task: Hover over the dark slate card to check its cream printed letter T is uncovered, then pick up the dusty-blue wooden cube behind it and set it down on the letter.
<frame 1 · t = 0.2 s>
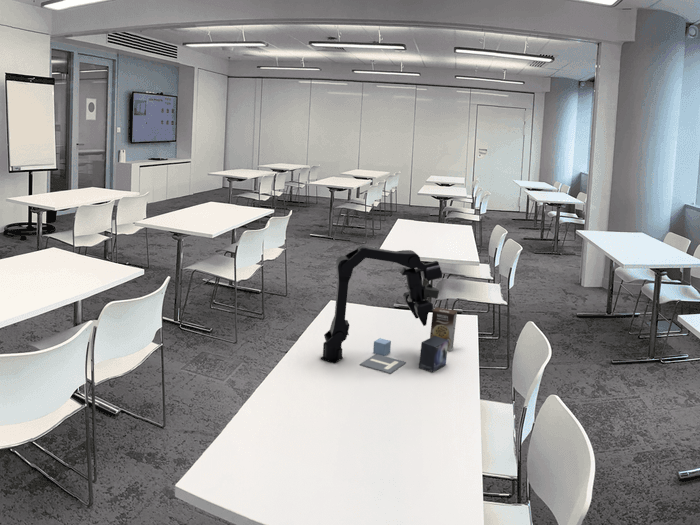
hand: (420, 321, 224), 15 cm above the table, tool pointing down, fingers open, 9 cm apart
blue cube: (381, 353, 232), on the table
small box: (432, 367, 221), on the table
coffee box: (441, 347, 241), on the table
letter card: (383, 364, 220), on the table
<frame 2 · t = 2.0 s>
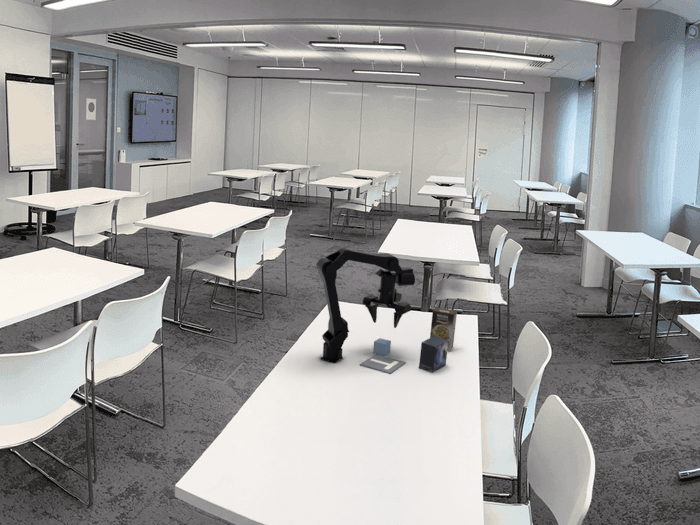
hand: (384, 325, 228), 12 cm above the table, tool pointing down, fingers open, 9 cm apart
nothing on the table moved.
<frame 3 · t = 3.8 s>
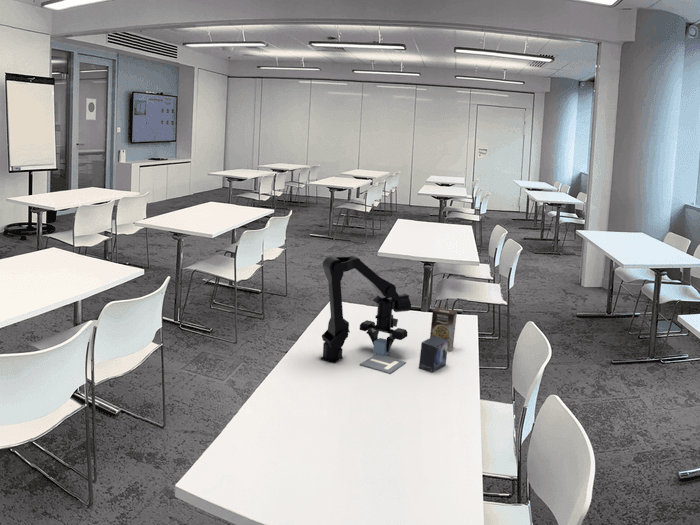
hand: (381, 350, 232), 1 cm above the table, tool pointing down, fingers closed on blue cube, 5 cm apart
blue cube: (381, 352, 232), on the table, touching gripper
everything else where it was.
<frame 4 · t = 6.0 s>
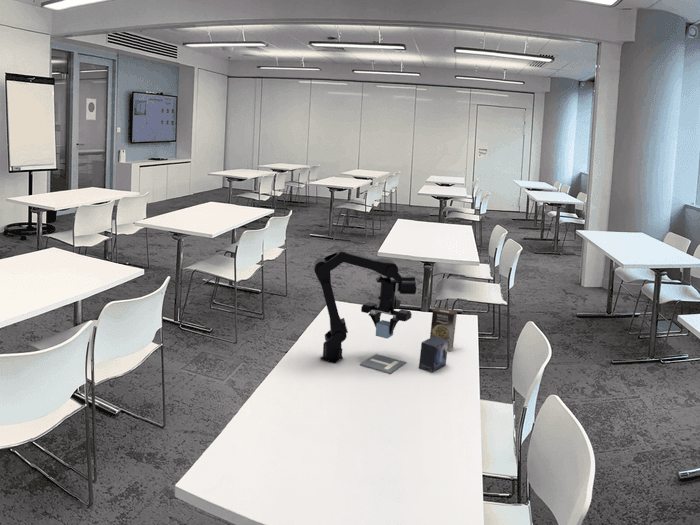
hand: (384, 332, 222), 11 cm above the table, tool pointing down, fingers closed on blue cube, 5 cm apart
blue cube: (384, 335, 223), point 10 cm above the table, touching gripper
everything else where it was.
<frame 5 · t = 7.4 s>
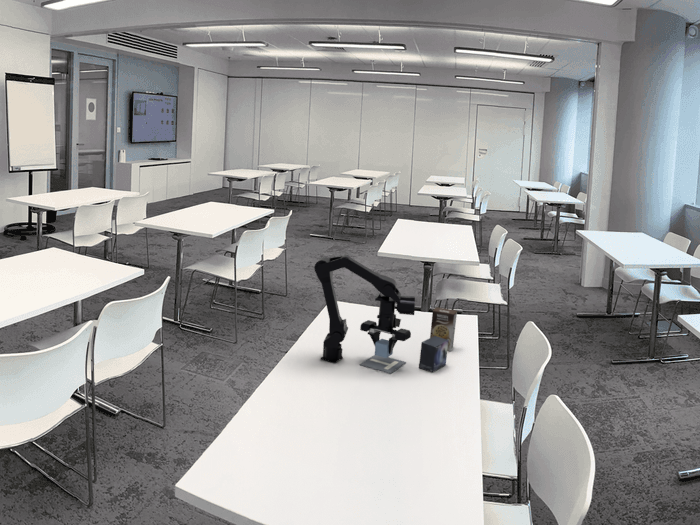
hand: (383, 351, 219), 5 cm above the table, tool pointing down, fingers closed on blue cube, 5 cm apart
blue cube: (383, 354, 220), point 4 cm above the table, touching gripper
everything else where it was.
when the fingers open (2 cm above the table, at t = 8.3 s): blue cube stays where it is, resting on letter card.
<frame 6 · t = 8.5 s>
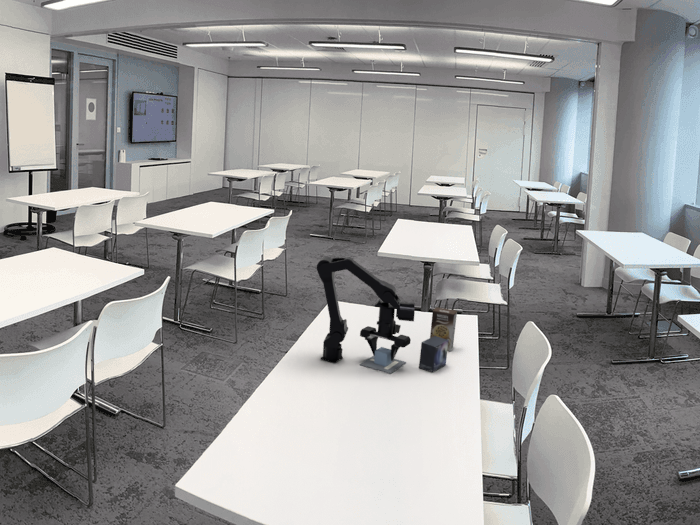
hand: (383, 358, 220), 2 cm above the table, tool pointing down, fingers open, 7 cm apart
blue cube: (383, 362, 220), point 1 cm above the table, touching letter card
everything else where it was.
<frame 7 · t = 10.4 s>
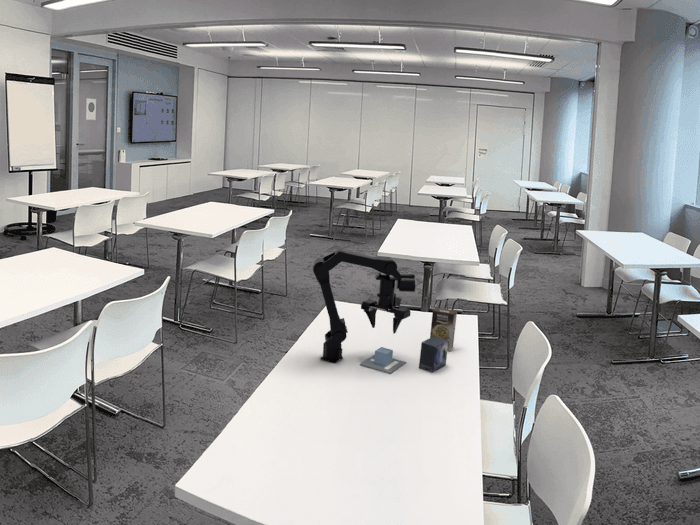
hand: (383, 330, 222), 12 cm above the table, tool pointing down, fingers open, 9 cm apart
nothing on the table moved.
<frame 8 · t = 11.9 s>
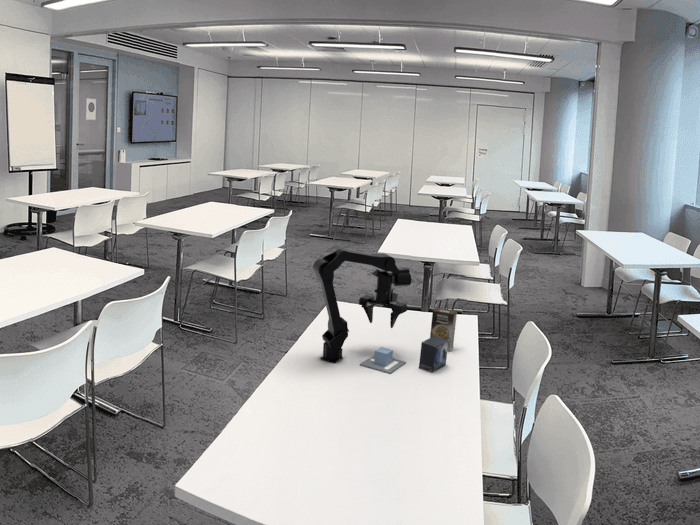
hand: (381, 325, 227), 12 cm above the table, tool pointing down, fingers open, 9 cm apart
nothing on the table moved.
at the end: blue cube 0.0 cm off-centre on the letter card, point 0.5 cm above the letter card's base; blue cube tilted 0°; the gripper is holding nothing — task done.
